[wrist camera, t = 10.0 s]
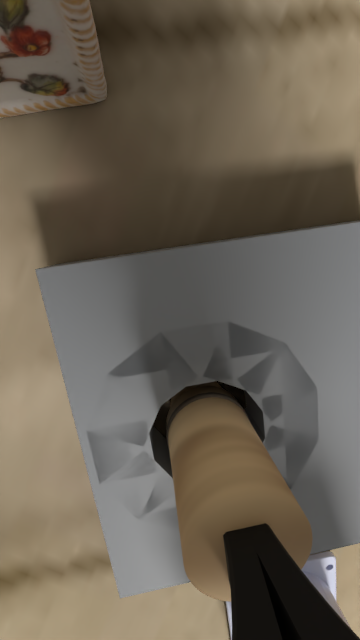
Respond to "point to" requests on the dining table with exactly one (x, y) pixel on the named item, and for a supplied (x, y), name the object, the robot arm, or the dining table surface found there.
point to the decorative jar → (48, 56)
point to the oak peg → (225, 485)
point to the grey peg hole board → (213, 376)
